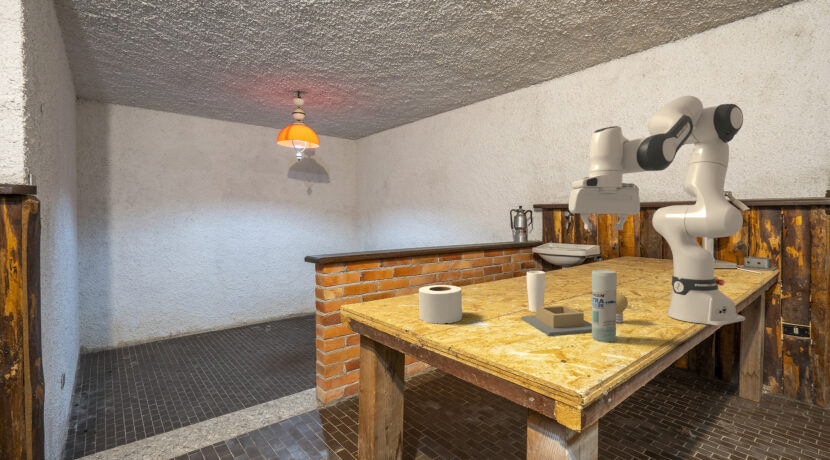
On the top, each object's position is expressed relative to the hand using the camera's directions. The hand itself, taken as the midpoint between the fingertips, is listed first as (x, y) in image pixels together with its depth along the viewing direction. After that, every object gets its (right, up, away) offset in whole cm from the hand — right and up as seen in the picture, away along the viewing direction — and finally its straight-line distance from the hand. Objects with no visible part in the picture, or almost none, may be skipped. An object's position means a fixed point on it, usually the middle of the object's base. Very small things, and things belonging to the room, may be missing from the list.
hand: (603, 229), depth 108 cm
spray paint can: (0, -32, 0) cm, 32 cm away
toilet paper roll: (-46, -32, +25) cm, 62 cm away
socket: (-8, -32, +14) cm, 35 cm away
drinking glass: (-10, -31, +31) cm, 45 cm away
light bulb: (+12, -32, +15) cm, 37 cm away
